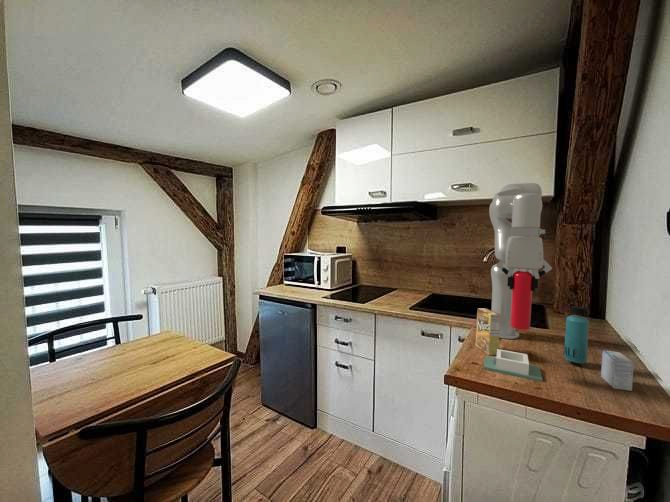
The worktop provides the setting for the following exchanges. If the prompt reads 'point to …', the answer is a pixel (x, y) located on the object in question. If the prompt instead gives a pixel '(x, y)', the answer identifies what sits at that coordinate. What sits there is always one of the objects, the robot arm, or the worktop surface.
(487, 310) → the candy box
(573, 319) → the beverage bottle
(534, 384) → the worktop surface
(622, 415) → the worktop surface
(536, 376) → the board
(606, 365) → the medicine box
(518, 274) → the bottle
